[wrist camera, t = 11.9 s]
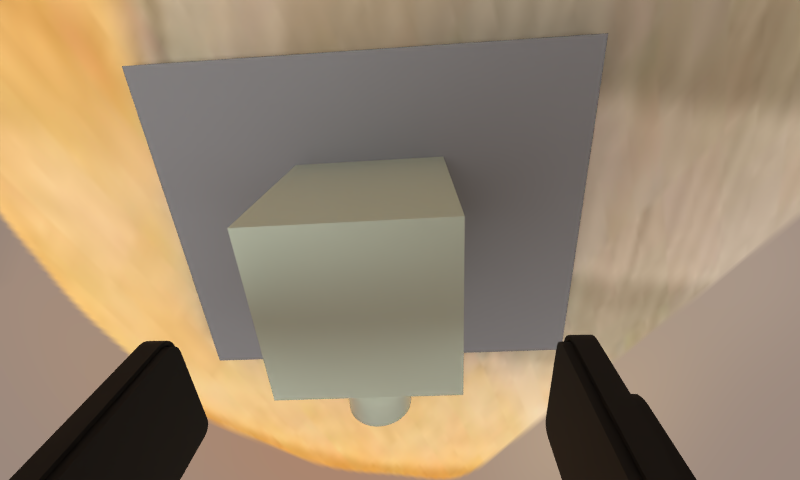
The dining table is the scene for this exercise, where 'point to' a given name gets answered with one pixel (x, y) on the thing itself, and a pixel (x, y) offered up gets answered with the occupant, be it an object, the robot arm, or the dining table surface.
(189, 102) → the board
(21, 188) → the dining table surface
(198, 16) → the dining table surface
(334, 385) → the block with round peg
